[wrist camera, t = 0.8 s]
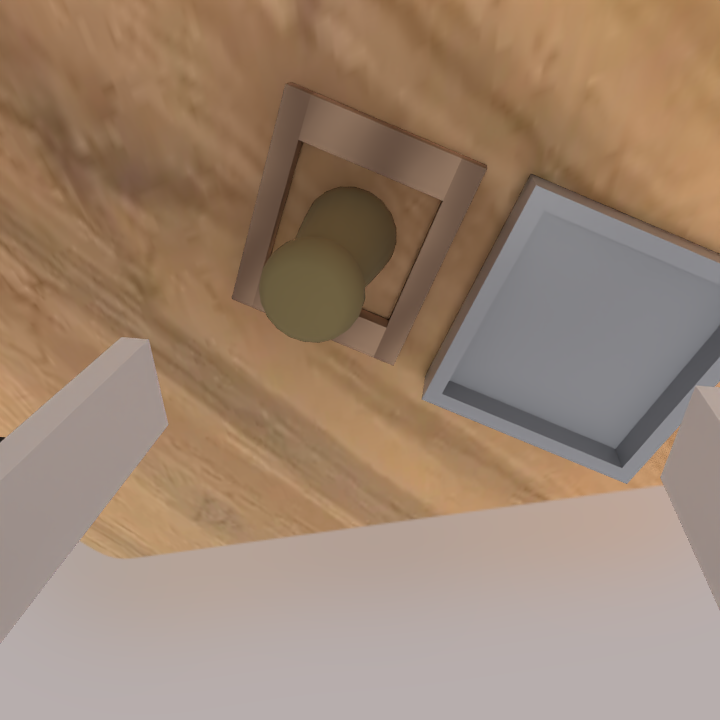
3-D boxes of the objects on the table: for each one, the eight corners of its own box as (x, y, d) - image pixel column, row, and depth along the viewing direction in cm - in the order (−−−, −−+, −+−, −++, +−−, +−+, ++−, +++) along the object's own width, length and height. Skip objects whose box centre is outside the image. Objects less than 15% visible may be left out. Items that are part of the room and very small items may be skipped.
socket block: (238, 292, 38) (231, 298, 37) (292, 82, 30) (285, 83, 29) (395, 357, 38) (393, 365, 37) (486, 165, 31) (486, 169, 30)
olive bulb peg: (403, 274, 35) (377, 356, 26) (315, 284, 36) (260, 365, 27) (388, 179, 32) (352, 232, 23) (293, 194, 34) (224, 250, 24)
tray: (425, 375, 38) (421, 399, 36) (530, 173, 31) (536, 185, 28) (616, 455, 39) (626, 483, 36) (770, 275, 31) (796, 296, 28)
